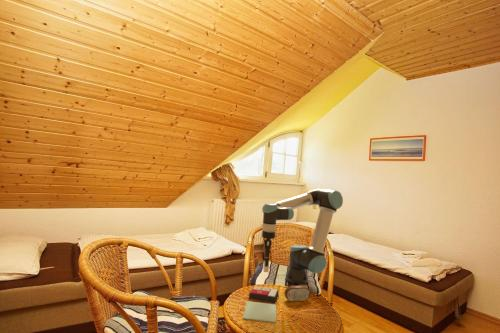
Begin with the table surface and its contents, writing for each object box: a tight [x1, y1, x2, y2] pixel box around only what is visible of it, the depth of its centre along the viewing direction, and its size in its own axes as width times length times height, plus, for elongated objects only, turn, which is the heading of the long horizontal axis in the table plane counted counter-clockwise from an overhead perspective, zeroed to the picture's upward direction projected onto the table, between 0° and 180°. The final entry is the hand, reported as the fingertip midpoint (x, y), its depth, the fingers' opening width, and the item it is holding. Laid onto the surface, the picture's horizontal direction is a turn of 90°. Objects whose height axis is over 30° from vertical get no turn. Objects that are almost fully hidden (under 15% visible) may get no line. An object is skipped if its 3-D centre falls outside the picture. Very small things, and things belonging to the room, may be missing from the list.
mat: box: [242, 300, 277, 324], centre depth 146 cm, size 16×18×1 cm
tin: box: [284, 284, 311, 302], centre depth 162 cm, size 15×3×8 cm, turn 105°
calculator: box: [248, 285, 280, 304], centre depth 164 cm, size 11×4×15 cm
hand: (266, 267), depth 164 cm, fingers open, 13 cm apart
